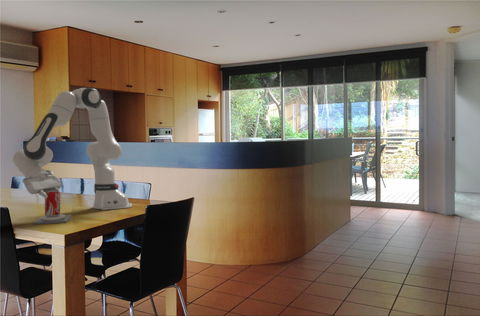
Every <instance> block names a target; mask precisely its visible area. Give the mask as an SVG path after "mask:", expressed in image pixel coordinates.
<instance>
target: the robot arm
mask: <svg viewBox="0 0 480 316" xmlns="http://www.w3.org/2000/svg"><path fill="white" fill-rule="evenodd" d="M75 109H86V110H87V113H88V120H89V121H88V122H89V127H90V132H91V134H92V135H93V137H95V139H96V141H93V142H91V143H89V144H88V145H87V147H86V151H85V152H86V155H87V157H89V159H90V160H91V162H92V167H93V170H94V185H93V191H94V200H93V206H92V208H93V209H97V210H101V211H103V210H104V211H106V210H107V211H108V210H116V209H117V210H119V209H129V208H132V207H133V203H131V202H129V198H128V195H127V194H126V193H124V192H123V191H121V190H120V189H119V184H118V183H116V182H115V169H114V168H113V166H111V165H112V164H111V163H110V162H111V161H115V160H118V159H120V158H121V157H122V156H123V155H122V154H123V148H122V146H121V145H120V144H119V143H118V141H117V140H116V138H115V136H114V133H113V132H112V127H111V123H110V115H109V111H108V107H107V104H106V102H105V101H104V100H103V99H102V97H101V95H100V92H99V91H98V90H97V89H96V88H93V87H80V88H78V89H72V90H70V91H67V90H62V91H61V92H59V93H58V95H57V96H56V97H55V99H54V101H53V102H52V104H51V106H50V108H49V110H48V112H47V114H45V116H44V117H43V118H42V120H41V122H40V123H39V125H38V127H37V129H36V130H35V132H34V134H33V135H32V137H31V138H30V139H28V140H27V142H26V143H25V144H24V146H23V148H22V149H19V150H18V151H16V152H15V153H14V154H13V156H12V157H13V158H12V162H13V163H14V165H15V167H16V168H17V169H18V171H19V172H20V173H22V174H23V176H24V178H23V179H22V183H23V184H24V187H25V188H26V191H27V192H28V193H29V194H31V195H36V194H38V195H39V196H41V197H43V198H44V200H45V199H47V198H48V197H49V195H48V194H46V190H60V189H61V188H62V186H63V184H62V182H61V181H60V180H59V178H58V177H57V176H56V175H54V172H53V171H52V170H48V169H46V168H45V169H44V168H42V167H44V166H46V165H48V164H49V163H51V162H52V161H53V158H54V153H53V151H52V149H51V148H50V147H48V146H47V140H48V138H49V137H50V135H51V133H52V131H53V129H55V128H56V127H64V126H67V124H68V123H69V122H70V121H71V118H72V116H73V114H74V112H75Z"/></svg>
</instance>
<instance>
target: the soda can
mask: <svg viewBox="0 0 480 316" xmlns="http://www.w3.org/2000/svg"><path fill="white" fill-rule="evenodd" d="M45 193H46V194H48V195H49V197H48V198H47V199H45V198H44V216H46V217H57V216H59V215H60V214H61V192H60V189H58V190H46V192H45Z"/></svg>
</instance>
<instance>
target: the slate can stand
mask: <svg viewBox="0 0 480 316" xmlns="http://www.w3.org/2000/svg"><path fill="white" fill-rule="evenodd" d="M71 218H72V214H66V215H65V214H63V213H60V215H59V216H57V217H46V216H45V215H42V216H39V217H38V218H37V219H36V220H34V221H33V225H47V224H48V225H51V224H66V223H68V222H69V220H70V219H71Z"/></svg>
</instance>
